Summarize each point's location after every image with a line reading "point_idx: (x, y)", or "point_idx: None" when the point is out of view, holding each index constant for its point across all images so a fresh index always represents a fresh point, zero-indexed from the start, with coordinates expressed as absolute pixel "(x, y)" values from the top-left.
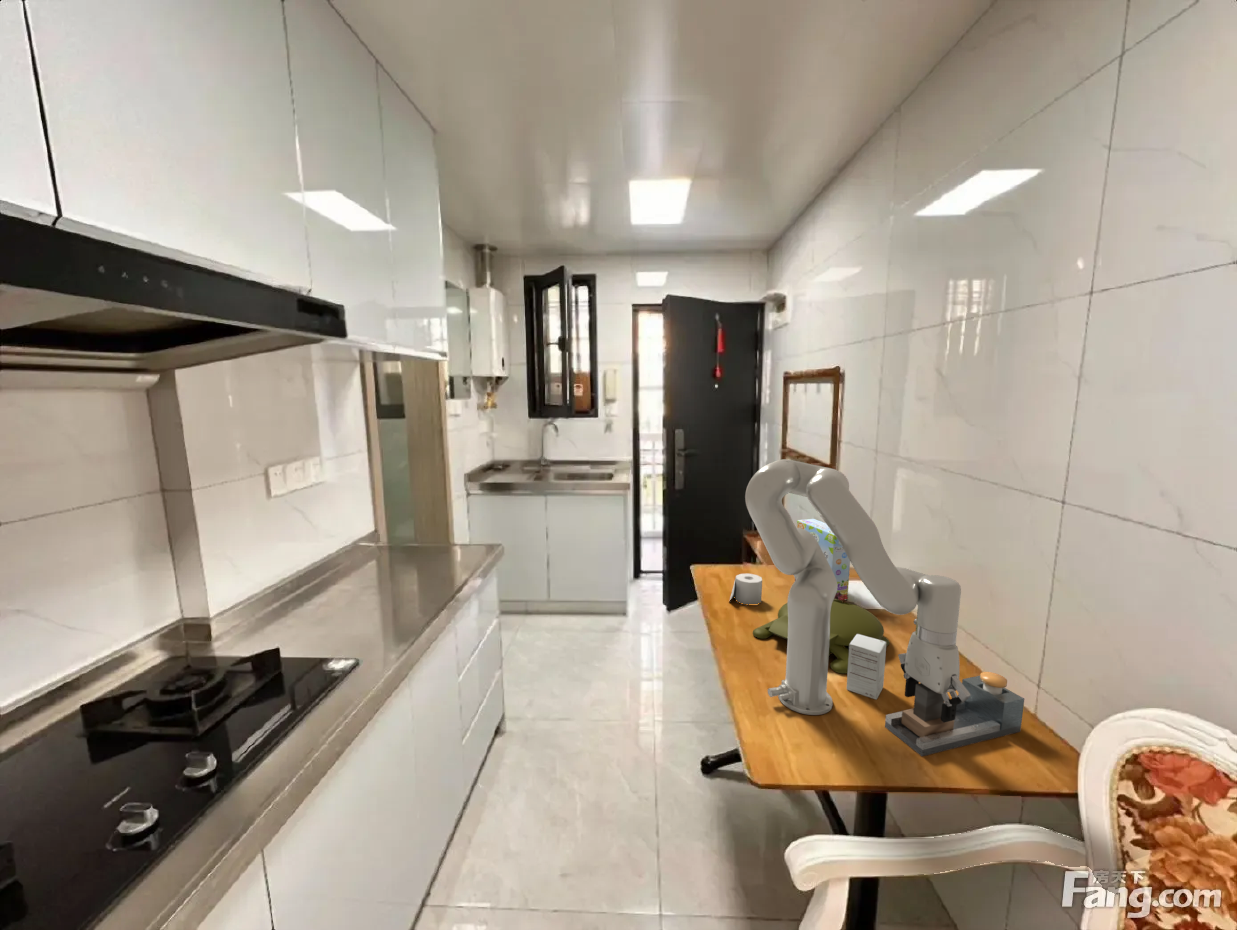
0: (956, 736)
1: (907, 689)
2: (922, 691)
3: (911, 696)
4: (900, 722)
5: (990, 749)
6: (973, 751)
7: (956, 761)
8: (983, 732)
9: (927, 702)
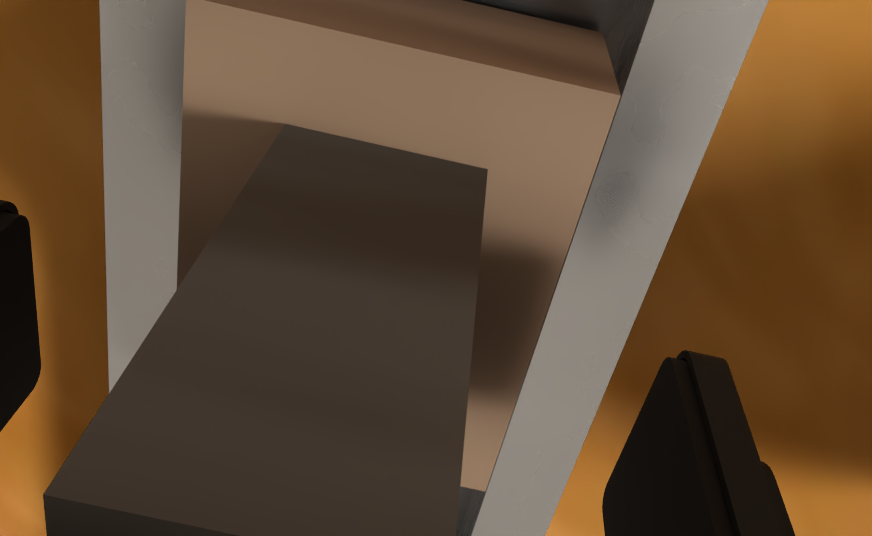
0: (112, 278)
1: (709, 452)
2: (234, 462)
3: (641, 413)
4: (622, 46)
5: (71, 411)
6: (87, 295)
7: (14, 37)
8: None
9: (169, 317)
